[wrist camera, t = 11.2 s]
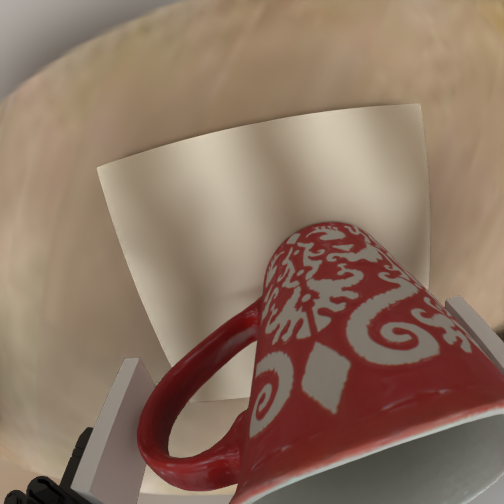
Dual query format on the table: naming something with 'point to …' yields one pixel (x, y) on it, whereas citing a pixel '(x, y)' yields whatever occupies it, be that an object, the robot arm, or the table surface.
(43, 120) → the table surface
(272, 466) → the mug
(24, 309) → the table surface
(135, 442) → the robot arm
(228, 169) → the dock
